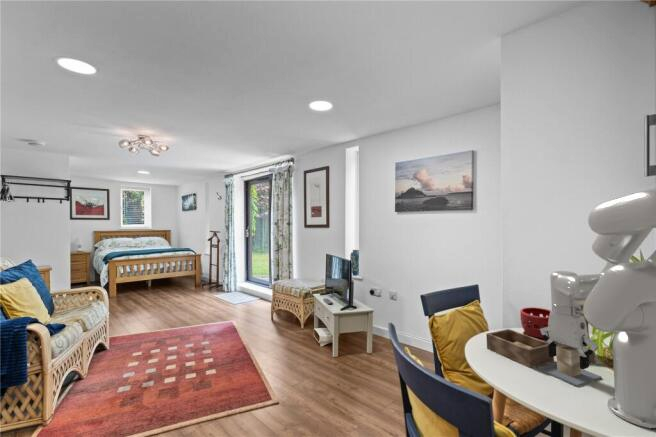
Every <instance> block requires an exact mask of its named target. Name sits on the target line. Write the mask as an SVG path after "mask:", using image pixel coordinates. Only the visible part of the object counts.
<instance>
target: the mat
mask: <svg viewBox="0 0 656 437" xmlns="http://www.w3.org/2000/svg"><path fill="white" fill-rule="evenodd" d="M537 371H540V372H541V373H544V374H546V375H549V376H551V377H553V378H555V379H557V380H560V381H562V382H565V383H567V384H569V385H572V386H573V387H576V388H577V387H581V386H583V385H587V384H589V383H592V382H595V381H598V380H600V379H601V380H602V379H603V378H602V376H601V375H598V374H596V373H594V372H590V371H588V370H586V369H581V374H579V375H576V376H573V377H571V376H569V375H566V374H564V373H561V372H559V371H557V362H554V363H551V364H547V365H544V366H541V367H540V366H539V367H538V368H537Z"/></svg>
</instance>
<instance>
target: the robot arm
mask: <svg viewBox="0 0 656 437" xmlns="http://www.w3.org/2000/svg"><path fill="white" fill-rule="evenodd" d="M587 219H588V221H587V222H588V226H589V229H590V230H591V231H592V232H594V233H595V234H597V235H598V236H596V238H595V239H594V241H593V243H592V244H591V249H592V251H593V252H594V254H595V255H596V256H597V257H599V258H600V259H602V260H604V261H606V262H607V263H606V264H605V266H604V267H603V268H602V270H601V271H600V272H599V273H594V274H580V275H578V274H577V273H575V272H573V271H565V270H563V271H562V270H557V271H553V272H551V273H550V276H549V278H550V281H549V282H550V297H551V298H550V299H551V302H550V303H551V311H550V315H549V322H548V327H546V328H541V329H540V331H541V333H542V335H543V338H544V339H545V340H546V343H547V344H548V351H549V357H554V358H555V357H557V354H556V347H557V346H558V345H557V343H559V344H560V345H567V346H570V347H573V348H577V350H578V351H579V352H580V354H581V355H582V356H580V368H581V369H583V370H586V369H588V368H589V367H590V363H591V362H589V356H591V355H592V354H594V353H595V354H596V351H597V350H598V349H599V344H597V343H596V342H595V341H593V340H592V339H591V338H590V339H589V338H588V331H587V326H586V322H585V319H586V320H587V322H588V325H589V326H591V327H592V328H594V329H596V330H597V331H600V332H604V333H605V332H606V333H614V335H613V338H612V359H613V360H612V362H613V363H612V364H613V379H614V380H613V384H614V397H610V398H609V399H607V407H608V409H609V410H610V411H611V412H612V413H613V414H614V415H615V416H617V417H619V418H621V419H622V420H625V421H627V422H629V423H632V424H634V425H637V426H638V427H639V426H640V427H643V428H647V429H651V428H656V249H655V250H654V251H653V253H652V254H651V255H649V256H648V258H646V259H645V260H642V261H634V262H633V261H632V262H631V261H630V260H631V259H632V256H633V255H634V254H635V253H636V251H637V250H638V249H639V248H640V247H641V245H642V244H643V242H644V241H645V240H646V239H647V237H648V236H649V235H650V233H651V232H652V231H653V229H655V228H656V188H652V189H646V190H642V191H638V192H635V193H631V194H628V195H625V196H621V197H618V198H614V199H612V200H611V199H610V200H607V201H604V202H602V203H600V204H598V205H596V206H595V207H594V208H593V209H591V211H590V212H589V214H588V218H587ZM580 301H585V303H584V307H583V310H582V309H581V306H580ZM581 314H584V316H585V319H584V316H582V315H581ZM547 331H548V334H547ZM588 345H589V346H590V349H589V350H588V349H587V347H586V346H588ZM583 350H584V351H583Z"/></svg>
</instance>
